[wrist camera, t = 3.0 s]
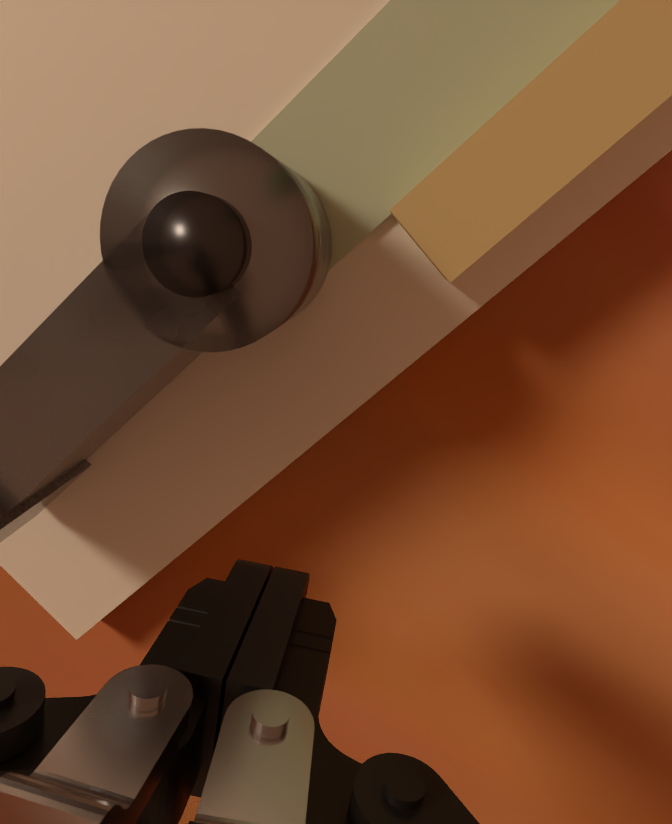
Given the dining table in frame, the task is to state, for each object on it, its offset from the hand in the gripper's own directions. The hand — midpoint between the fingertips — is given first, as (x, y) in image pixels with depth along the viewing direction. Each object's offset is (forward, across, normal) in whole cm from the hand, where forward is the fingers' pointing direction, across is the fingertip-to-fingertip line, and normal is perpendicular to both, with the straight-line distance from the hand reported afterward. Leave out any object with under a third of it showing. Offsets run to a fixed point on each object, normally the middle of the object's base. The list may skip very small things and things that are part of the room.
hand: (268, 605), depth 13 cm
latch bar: (+4, +5, -4) cm, 7 cm away
